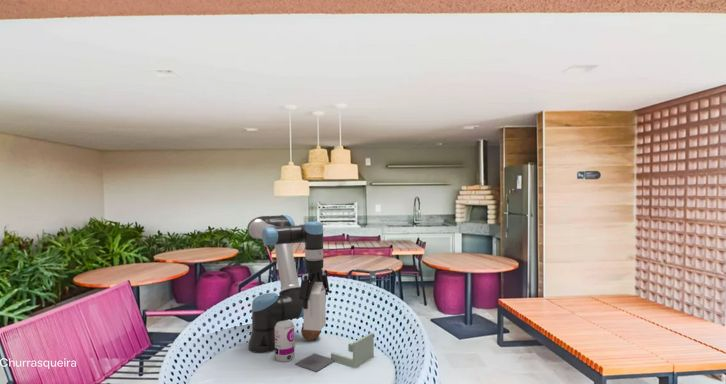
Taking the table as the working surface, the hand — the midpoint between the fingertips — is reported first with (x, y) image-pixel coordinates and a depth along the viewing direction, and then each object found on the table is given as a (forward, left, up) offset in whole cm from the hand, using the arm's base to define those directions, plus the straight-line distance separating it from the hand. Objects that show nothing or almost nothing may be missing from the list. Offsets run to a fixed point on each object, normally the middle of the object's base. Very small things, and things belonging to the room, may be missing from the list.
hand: (314, 313), depth 158 cm
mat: (0, 0, -21) cm, 21 cm away
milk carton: (0, 0, -6) cm, 6 cm away
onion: (-19, +18, -21) cm, 33 cm away
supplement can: (-14, -4, -21) cm, 25 cm away
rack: (+10, +12, -21) cm, 26 cm away
